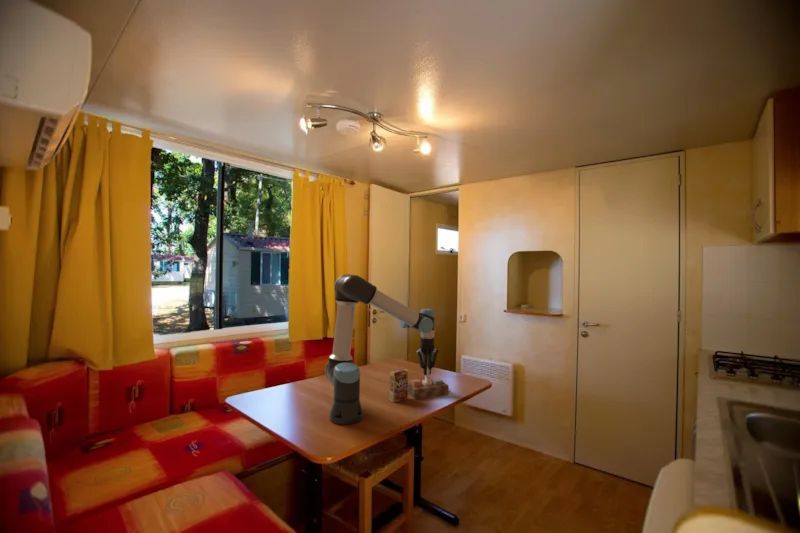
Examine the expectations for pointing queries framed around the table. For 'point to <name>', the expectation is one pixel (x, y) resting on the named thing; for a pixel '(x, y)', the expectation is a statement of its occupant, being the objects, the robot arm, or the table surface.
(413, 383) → the brick key
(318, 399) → the table surface
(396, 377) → the candy box
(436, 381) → the slate key
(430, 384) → the ivory key
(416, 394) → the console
